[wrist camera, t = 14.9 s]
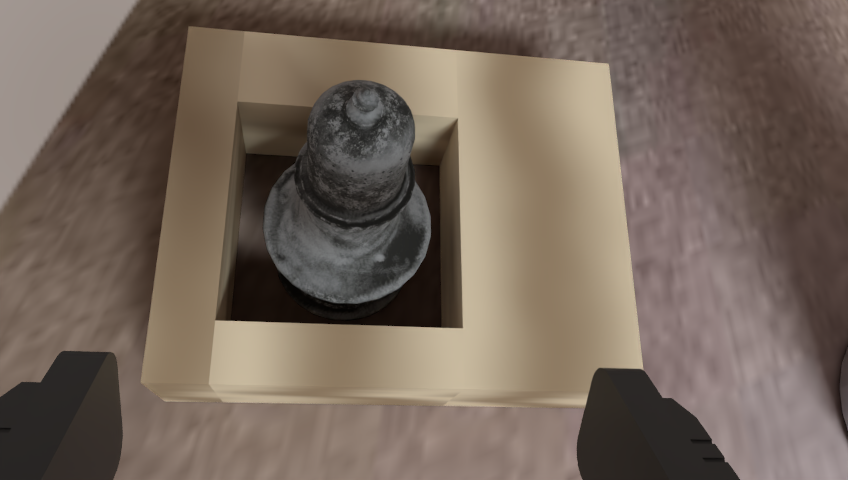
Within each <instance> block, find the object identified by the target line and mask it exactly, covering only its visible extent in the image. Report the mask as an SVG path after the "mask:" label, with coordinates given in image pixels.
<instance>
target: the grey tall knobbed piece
mask: <svg viewBox="0 0 848 480" xmlns="http://www.w3.org/2000/svg"><path fill="white" fill-rule="evenodd" d="M414 141H415V123H414V119H413V115H412V112H411V109H410V108H409V106H408V105H407V103H406V102H405V100H404V99H403V98H402V97H401V96H400V95H399V94H398V93H396V92H395V91H394V90H392V89H390V88H389V87H387V86H385V85H383V84H380V83H376V82H373V81H367V80H352V81H345V82H342V83H339V84H337V85H334V86H332V87H331V88H329V89H328V90H326V91H325V92H324V93H322V94H321V96H320V97H319V98H318V99H317V101H316V102H315V103H314V105H313V108H312V110H311V113H310V115H309V118H308V125H307V142H306V143H305V145H304V146H303V147H302V148H301V150H300V152H299V154H298V157H297V159H296V162H295V164H293V165H292V166H291V167H289V168H288V169H287V170H286V171H284V172H283V174H282V175H281V176H280V178H279V179H278V180H277V182H276V183H275V184H274V186H273V187H272V189H271V191H270V194H269V196H268V199H267V202H266V204H265V207H264V217H263V232H264V237H265V242H266V247H267V250H268V252H269V254H270V256H271V258H272V260H273V262H274V263H275V265H276V267H277V269H278V274H279V278H280V280H281V282H282V283H283V285H284V287H285V289H286V291H287V293H288V294H289V295H290V296H291V297H292V298H293V299H294V300H295V301H296V302H297V303H298V304H299V305H300V306H302V307H303V308H305V309H307V310H308V311H310V312H311V313H313V314H315V315H318V316H321V317H325V318H328V319H332V320H354V319H358V318H363V317H367V316H369V315H371V314H373V313H375V312H377V311H379V310H381V309H383V308H384V307H385V306H386V305H387V304H389V303H390V302H391V301H392V300H393V299H394V298H395V297H396V296H397V294H398V293H399V291H400V289H401V288H402V286H403V285H404V283H405V282H407V281H408V280H409V279H410V278H411V277H412V276H413V275H414V274H415V272H416V271H417V269H418V267H419V266H420V264H421V263H422V261H423V259H424V258H425V256H426V252H427V249H428V245H429V241H430V238H431V216H430V212H429V209H428V205H427V202H426V198H425V196H424V194H423V193H422V191H421V190H420V188H419V186H418V185H417V183H416V181H415V170H414V166H413V163H412V159H411V157H410V154H411V151H412V148H413V144H414Z"/></svg>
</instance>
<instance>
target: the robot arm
mask: <svg viewBox="0 0 848 480" xmlns="http://www.w3.org/2000/svg"><path fill="white" fill-rule="evenodd" d="M840 396H841V404H842V412H843V416H844V419H845V422H846V426H847V429H848V347H847V350H846V353H845V356H844V359H843V363H842V366H841V378H840ZM122 437H123V430H122V417H121V405H120V393H119V380H118V368H117V361H116V357H115V355H114V353H112V352H82V351H62V352H61V353H60V354H59V355H58V356H57V358H56V359H55V361H54V362H53V364H52V366H51V367H50V369H49V370H48V372H47V373H46V375H45V376H44V378H43V380H42V381H41V383H39V382H21V383H20V384H18V385H17V386H15V387H14V388H13V389H11V390H10V391H8V392H7V393H6V394H4V395H3V396H1V397H0V480H113V478H114V476H115V473H116V471H117V468H118V464H119V460H120V455H121V449H122ZM724 459H725V458H724V456H723V455H722V453H721V452H720V450H719V449H718V448H717V446H716V445H715V444H712V439H711V438H710V436H709V435H708V433H707V432H706V431H705V429H704V428H703V426H702V425H701V423H700V422H699V421H698V419H697V418H696V417H695V416H694V415H692V414H691V413H690V412H689V411H687V410H686V409H685V408H683V407H682V406H681V405H680V404H678V403H677V402H676V401H674V400H673V399H672V398H662V396H661V395H660V393H659V392H658V390H657V389H656V387H655V386H654V384H653V383H652V381H651V380H650V378H649V377H648V375H647V374H646V373H645V371H643V370H642V369H628V368H598V369H597V370H596V371H595V373H594V375H593V378H592V381H591V386H590V390H589V394H588V398H587V402H586V406H585V410H584V415H583V419H582V423H581V427H580V431H579V435H578V441H577V460H578V467H579V471H580V474H581V477H582V479H583V480H740V479H739V477H738V476H737V475H736V473H735V472H734V470H733V469H732V467H731V466H730V465H729V463H728V462H725V460H724Z"/></svg>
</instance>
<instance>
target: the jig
mask: <svg viewBox="0 0 848 480" xmlns="http://www.w3.org/2000/svg"><path fill="white" fill-rule="evenodd" d="M352 80H367V81H373V82H376V83H380V84H383V85H385V86H387V87H389V88H390V89H392V90H394V91H395V92H396V93H398V94H399V95H400V96H401V97H402V98H403V99H404V100H405V102H406V103H407V105H408V106H409V108H410V109H411V112H412V115H413V119H414V123H415V141H414V144H413V148H412V151H411V154H410V157H411V159H412V163H413V164H418V165H433V166H439V167H440V242H441V317H442V328H433V327H402V326H371V325H340V324H310V323H279V322H248V321H231V311H232V300H233V290H234V279H235V268H236V258H237V247H238V236H239V226H240V215H241V204H242V194H243V183H244V172H245V162H246V153H250V154H265V155H281V156H296V157H298V154H299V152H300V150H301V148H302V147H303V146H304V145H305V143H306V142H307V125H308V118H309V115H310V113H311V110H312V108H313V105H314V103H315V102H316V101H317V99H318V98H319V97H320V96H321V94H322V93H324V92H325V91H326V90H328V89H329V88H331V87H332V86H334V85H337V84H339V83H342V82H345V81H352ZM598 368H628V369H642V370H643V363H642V354H641V345H640V337H639V328H638V319H637V310H636V301H635V292H634V284H633V275H632V266H631V257H630V248H629V239H628V230H627V222H626V213H625V204H624V195H623V186H622V177H621V168H620V160H619V151H618V142H617V133H616V124H615V115H614V107H613V98H612V89H611V80H610V71H609V64H606V63H594V62H583V61H572V60H561V59H550V58H538V57H527V56H516V55H505V54H494V53H482V52H471V51H460V50H449V49H438V48H427V47H415V46H404V45H393V44H382V43H371V42H359V41H348V40H337V39H326V38H315V37H303V36H292V35H281V34H270V33H259V32H248V31H236V30H225V29H214V28H203V27H192V26H189V28H188V35H187V43H186V50H185V57H184V65H183V72H182V80H181V87H180V94H179V102H178V109H177V117H176V124H175V131H174V139H173V146H172V154H171V161H170V168H169V176H168V183H167V190H166V198H165V205H164V213H163V220H162V227H161V235H160V242H159V250H158V257H157V264H156V272H155V279H154V287H153V294H152V301H151V309H150V316H149V324H148V331H147V338H146V346H145V353H144V360H143V368H142V375H141V383H142V384H143V385H144V386H145V387H147V388H148V389H149V390H151V391H152V392H153V393H155V394H156V395H157V396H159V397H160V398H161V399H163V400H164V401H177V402H238V403H299V404H360V405H420V406H481V407H542V408H585V406H586V402H587V398H588V394H589V390H590V386H591V381H592V378H593V375H594V373H595V371H596V370H597V369H598Z"/></svg>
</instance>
